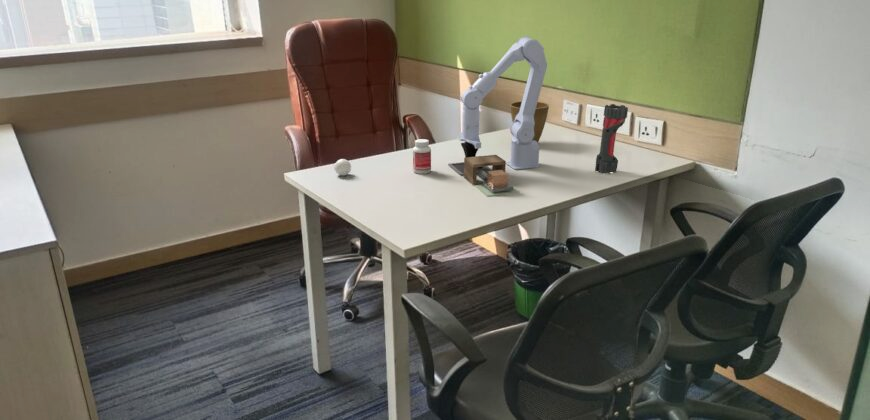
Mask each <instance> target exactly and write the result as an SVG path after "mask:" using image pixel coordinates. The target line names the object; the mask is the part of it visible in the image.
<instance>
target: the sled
mask: <svg viewBox="0 0 870 420" xmlns="http://www.w3.org/2000/svg"><path fill="white" fill-rule="evenodd" d="M477 156H478V155H477ZM477 156H475V157H477ZM464 158H467V157H465V156H464ZM481 168H483V167H477V175H478V176H479V177H481V178H482V179H484V180H485V181H484V180H483V181H482V185H484V186H485V187H487V188H488V189H489V190H490V191H492V192H500V191H508V190H513V187H514V186H513V185H512V184H510V183H509V173H507V172H506V171H505V172H504V171H503V170H495V171H487V173H486V172H484V171H483V170H482V169H481Z"/></svg>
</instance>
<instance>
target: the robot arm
mask: <svg viewBox="0 0 870 420" xmlns="http://www.w3.org/2000/svg"><path fill="white" fill-rule="evenodd" d="M522 61H526V62H527V64H528V66H529V67H530V69H529V74H528V77H527V81H526V85H525V88H524V92H523V96H522V100H521V101H522V103H521V107H520V111H519V113H518V114H517V115H516V118H515V120H514V122H512V123H511V125H510V127H509V131H510V134H511V135H512V138H511V140H510V141H511V142H510V146H511V147H510V161H506V166H507V165H508V166H509V167H511V168H512V169H514V170H523V169H524V170H525V169H535V168H539V167H540V165H539V157H540V147H539V146H540V145H539V142H538V143H537V141H535V140H533V138H534V125H535V123H534V113H535V110H536V106H537V102H539V98H540V94H541V91H542V86H543V84H544V79H545V75H546V72H547V69H548V63H547V59H546V55H545V48H544V46H543V45H542V44H541V43H540V42H539V41H538V40H537V39H533V38H532V37H530V36H522V37H520V38H519V39H518V40H517V41H516V42H514V43H513V44H512V45H511V47H510V48H509V49H508V50H507V51H506V53H505V54H504V55H503V56H502V57H501V59H500V60H499V61H498V62H497V63H496V64H495V65H494V67H493V68H492V69H491V70H490V71H485V72H483V73H480V74H479V75H478V79H476V80H475V82H473V84H472V85H471V84H470V85H469V86H468V89H466V90H464V91H463V93H462V95H461V96H460V101H461V102H462V103H463V104H462V129H461V130H462V131H461V132H460V133H459V138H458V141H460V142H461V143H460V146H461V147H462V150H463V154H464V158H465V157H475V156H476V155H477V153H478V151H479V149H482V142H481V140H480V139H481V138H480V106H481V105H482V102H483V99H484V98H485V97H486V96H487V95H488V94H489V93H490V92H491V91H492V90H493V89H494V87H496V86H497V84H498V78H499V77H501V76H502V74H504V73H505V72H506V71H507V70H508V69H509V68H510V67H511V66H513V64H514V63H517V62H522Z"/></svg>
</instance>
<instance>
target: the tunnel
mask: <svg viewBox="0 0 870 420" xmlns="http://www.w3.org/2000/svg"><path fill="white" fill-rule="evenodd" d="M463 158H464V159H463V162H464V176H463V178H464V179H465V180H466V181H467V182H468V183H469V184H471V185H472V186H475V185H477V175H478V174H477V167H483V166H488V167H489V166H491V167H492V168H491V169H492V171H495V170H503V171H504V172H506V166H507V164H506V162H507V161H506V160H505V159H503V158H502V157H500V156H499V155H498V154H489V155H477V157H467V158H465V157H463Z"/></svg>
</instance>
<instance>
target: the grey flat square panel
mask: <svg viewBox="0 0 870 420" xmlns="http://www.w3.org/2000/svg"><path fill="white" fill-rule="evenodd" d="M447 166H448V167H449V168H451V169H452V170H453V171H454V172H455V173H456V174H458V175H460V177H464V161H461V162H453V163H448V165H447ZM481 169H482V170H483V171H484V172H486V173H487V171H492V168H491V167H489V166H483V168H481Z"/></svg>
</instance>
